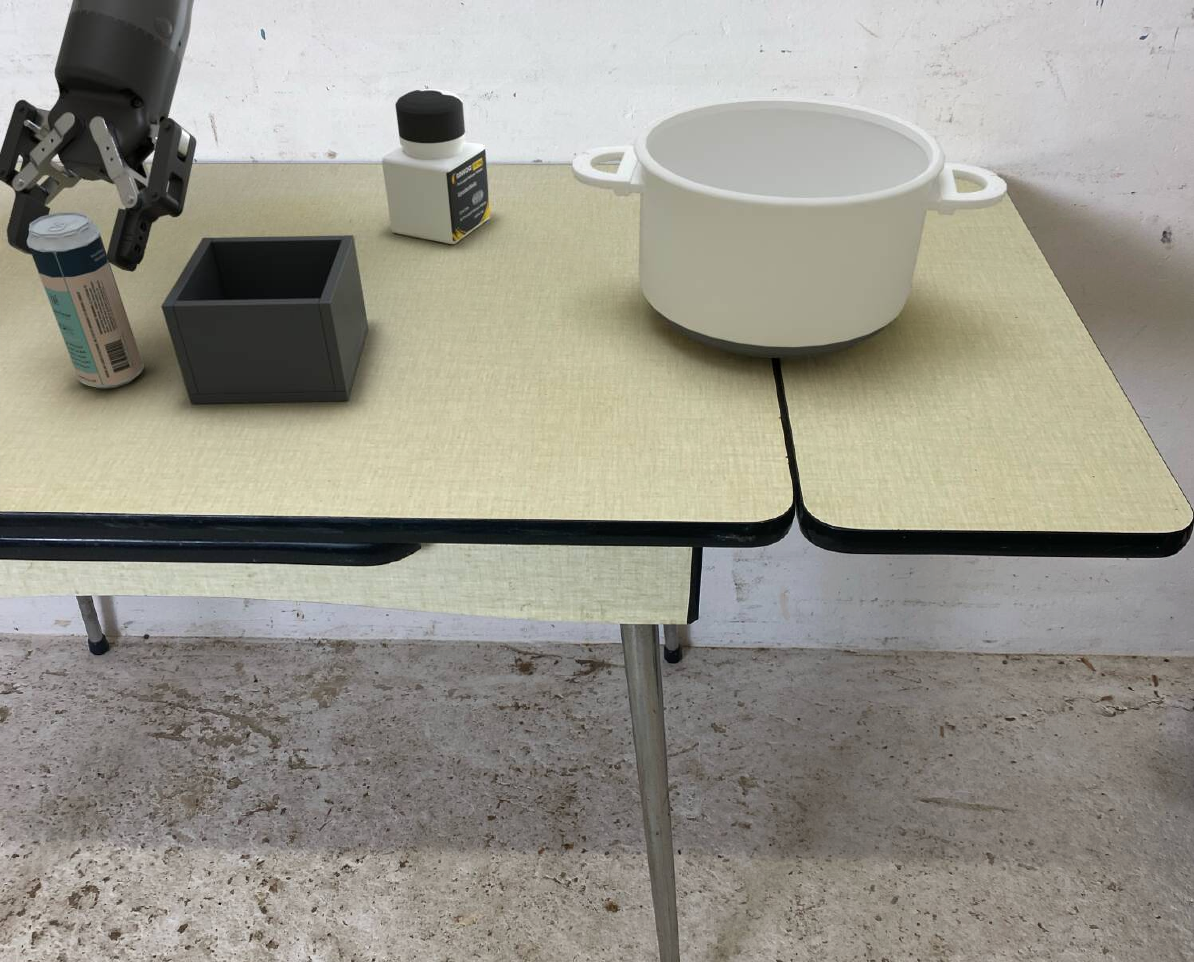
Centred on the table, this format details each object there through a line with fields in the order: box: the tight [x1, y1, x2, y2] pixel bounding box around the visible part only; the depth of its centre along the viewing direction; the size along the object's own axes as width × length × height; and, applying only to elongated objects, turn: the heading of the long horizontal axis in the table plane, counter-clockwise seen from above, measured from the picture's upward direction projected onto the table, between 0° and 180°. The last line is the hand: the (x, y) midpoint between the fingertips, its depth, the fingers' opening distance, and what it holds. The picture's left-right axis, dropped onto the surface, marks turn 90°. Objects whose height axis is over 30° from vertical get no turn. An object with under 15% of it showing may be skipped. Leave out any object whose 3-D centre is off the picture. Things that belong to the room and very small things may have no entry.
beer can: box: [27, 211, 145, 389], centre depth 76 cm, size 5×5×12 cm
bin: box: [161, 234, 369, 405], centre depth 79 cm, size 12×12×8 cm
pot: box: [571, 96, 1008, 359], centre depth 84 cm, size 33×23×14 cm
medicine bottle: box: [381, 88, 491, 245], centre depth 98 cm, size 7×7×12 cm
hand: (70, 258), depth 74 cm, fingers open, 8 cm apart
